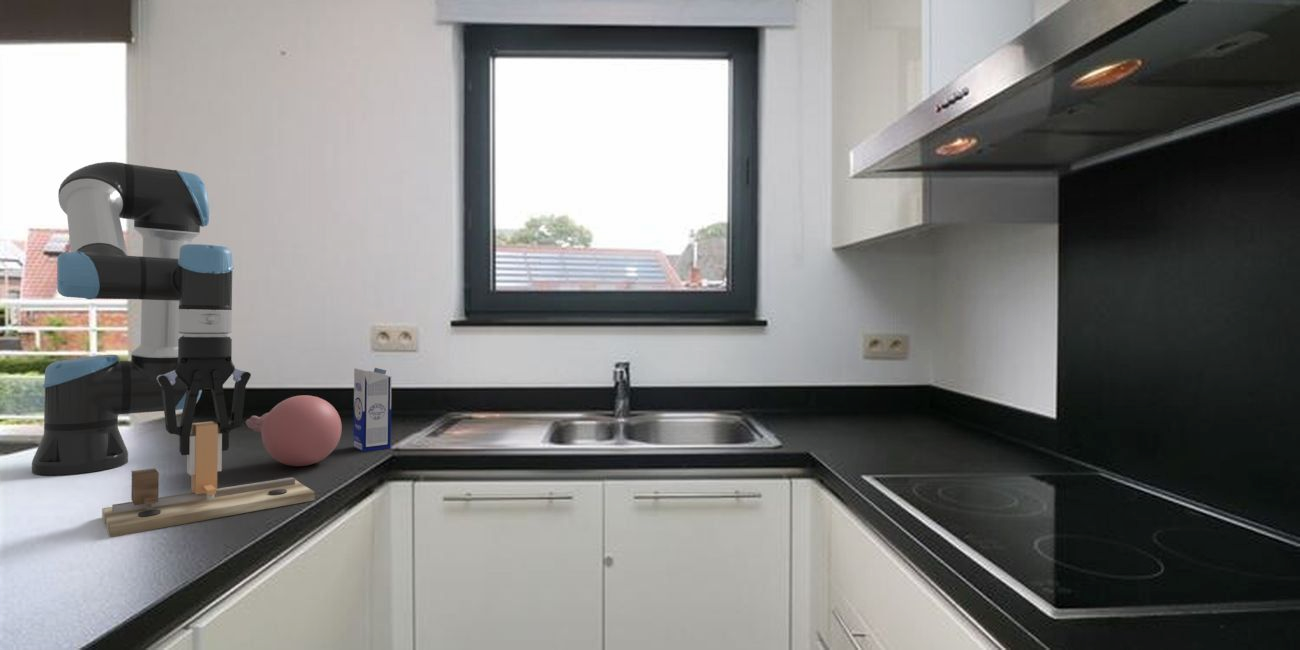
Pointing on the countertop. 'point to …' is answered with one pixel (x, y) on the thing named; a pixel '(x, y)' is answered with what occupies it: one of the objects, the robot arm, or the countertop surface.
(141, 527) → the wooden slotted board
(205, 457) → the orange wooden block
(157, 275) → the robot arm
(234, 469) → the countertop surface
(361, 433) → the milk carton
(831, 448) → the countertop surface
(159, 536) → the countertop surface
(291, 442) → the balloon
